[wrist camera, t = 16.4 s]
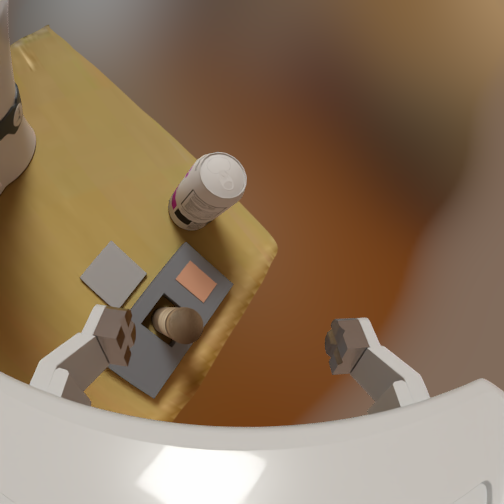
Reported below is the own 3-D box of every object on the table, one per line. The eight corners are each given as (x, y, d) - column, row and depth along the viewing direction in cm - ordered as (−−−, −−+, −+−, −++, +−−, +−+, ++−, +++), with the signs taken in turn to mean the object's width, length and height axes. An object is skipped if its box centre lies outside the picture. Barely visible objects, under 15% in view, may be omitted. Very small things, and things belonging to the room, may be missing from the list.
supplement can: (160, 196, 45) (186, 154, 33) (199, 184, 50) (236, 144, 37) (177, 238, 46) (210, 210, 33) (216, 222, 50) (259, 193, 38)
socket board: (151, 394, 38) (154, 398, 36) (96, 355, 35) (96, 358, 33) (227, 285, 49) (234, 284, 47) (182, 244, 46) (186, 241, 44)
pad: (116, 311, 38) (116, 311, 38) (80, 278, 36) (79, 277, 35) (146, 273, 42) (146, 273, 41) (111, 241, 40) (111, 240, 39)
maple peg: (152, 334, 40) (170, 346, 29) (149, 307, 41) (165, 308, 30) (178, 332, 43) (205, 341, 32) (175, 305, 43) (201, 305, 32)
